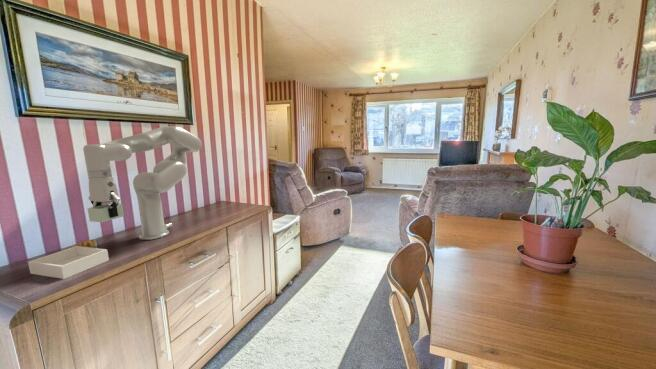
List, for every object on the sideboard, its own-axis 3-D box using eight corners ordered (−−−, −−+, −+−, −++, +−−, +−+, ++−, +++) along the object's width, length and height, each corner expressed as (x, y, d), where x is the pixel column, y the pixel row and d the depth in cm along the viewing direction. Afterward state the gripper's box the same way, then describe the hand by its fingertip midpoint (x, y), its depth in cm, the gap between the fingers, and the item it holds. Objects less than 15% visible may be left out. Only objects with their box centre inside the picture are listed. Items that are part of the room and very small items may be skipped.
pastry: (68, 255, 113) (67, 246, 113) (69, 250, 118) (67, 242, 118) (97, 248, 120) (96, 240, 119) (97, 244, 124) (95, 237, 124)
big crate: (78, 256, 111) (76, 245, 111) (109, 260, 107) (107, 249, 106) (30, 273, 97) (27, 261, 96) (63, 278, 93) (61, 266, 92)
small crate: (112, 215, 119) (110, 203, 118) (124, 216, 118) (122, 203, 117) (89, 221, 111) (87, 208, 110) (102, 222, 109) (100, 209, 108)
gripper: (125, 173, 112) (131, 215, 115) (94, 173, 117) (101, 213, 120) (106, 176, 105) (113, 220, 108) (74, 175, 110) (82, 217, 113)
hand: (107, 216), depth 114 cm, fingers closed on small crate, 7 cm apart
